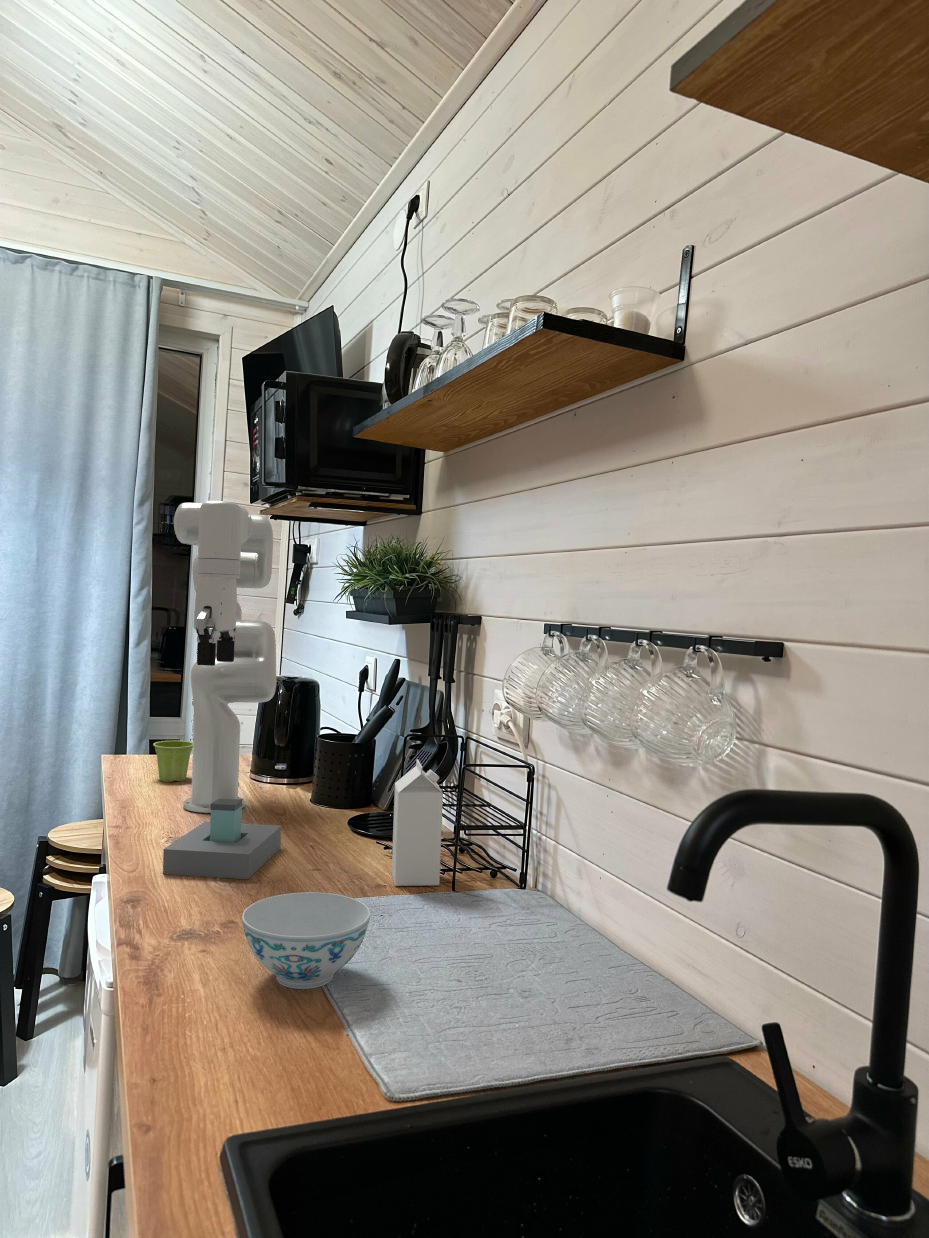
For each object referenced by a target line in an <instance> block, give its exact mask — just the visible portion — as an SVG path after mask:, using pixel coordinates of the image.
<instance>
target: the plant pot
mask: <svg viewBox="0 0 929 1238" xmlns="http://www.w3.org/2000/svg"><path fill="white" fill-rule="evenodd" d="M152 745H153V747H154V749H155V753H156V761H157V769H158V770H157V771H158V779H159V780H160V781H161V782H165V783H167V782H168V783H172V782H176V781H177V782H183V781H185V780H186V779H187V776H188V775H187V774H188V771H189V770H188V769H189V765H190V764H189V763H190V757H191V753H193V741H190V740H189V741H188V740H161V741H156V742H153V744H152Z"/></svg>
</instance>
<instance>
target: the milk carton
mask: <svg viewBox="0 0 929 1238" xmlns="http://www.w3.org/2000/svg"><path fill="white" fill-rule="evenodd" d="M415 761H416V764H415V766H414V767H413V768H411V769H410V770H408V772H407V773H406V774H404V775H403V776H402V777H400V779H398V780H397V781H395V783H394V799H393V804H394V805H393V826H392V828H393V829H392V831H393V832H392V854H391V858H392V860H391V875H392V879H393V883H394V886H395V887H402V886H404V887H409V886H411V887H412V886H414V887H415V886H423V887H424V886H440V882H441V881H440V878H441V877H440V876H441V850H442V849H441V848H442V847H441V846H442V827H443V826H442V824H443V822H442V821H443V820H442V819H443V801H444V800H443V799H444V797H443V796H444V794H443V790H442V788H440V785H438V783H437V782H438V781H439V780H440V776H439V775H438V774H437V773H435V771H433V770H432V769H429V770H427V772H425V771H424V770H423V766H422V764H421V761H420V760H419V758H417V759H415Z"/></svg>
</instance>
